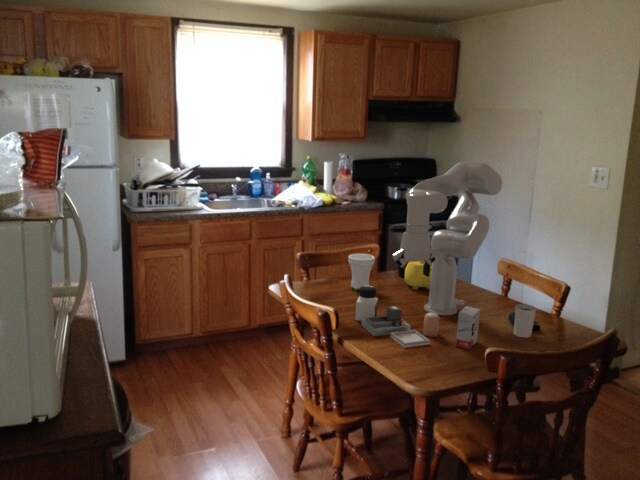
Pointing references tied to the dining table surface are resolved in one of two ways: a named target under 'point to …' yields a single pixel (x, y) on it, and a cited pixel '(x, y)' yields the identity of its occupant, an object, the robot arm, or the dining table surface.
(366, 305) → the medicine bottle
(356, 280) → the cup
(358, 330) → the dining table surface
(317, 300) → the dining table surface
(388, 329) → the breaker panel
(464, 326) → the ink box
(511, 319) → the electronic device
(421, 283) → the teapot
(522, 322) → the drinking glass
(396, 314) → the toggle
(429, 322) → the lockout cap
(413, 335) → the pad
